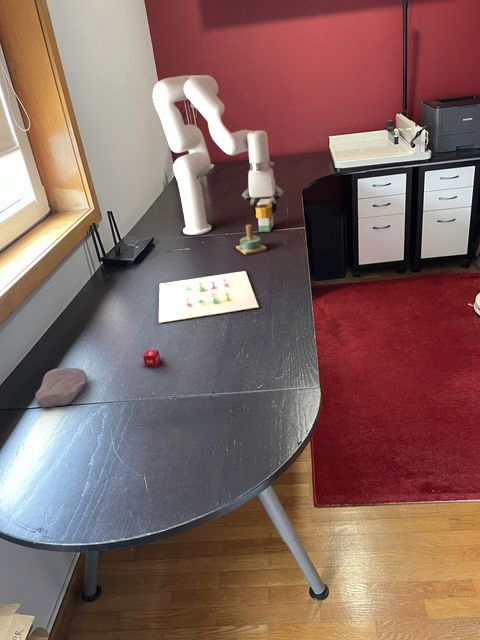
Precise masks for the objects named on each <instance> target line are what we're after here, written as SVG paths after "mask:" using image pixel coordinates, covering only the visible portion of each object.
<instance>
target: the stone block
mask: <svg viewBox="0 0 480 640" xmlns="http://www.w3.org/2000/svg"><path fill="white" fill-rule="evenodd" d="M86 385H87V374H86V371H85V370H83V369H81V368H79V367H76V368H75V367H59V368H54V369H51V370H49V371H47V372H46V373H45V375H44V376H43V378H42V382H41V386H40V388H39V389H38V390H37V391H36V392H35V399H36V403H37V405H38V406H39V407H40V408H42V409H45V408H54V407H58V406H59V407H60V406H68V405H69V404H71V403H72V402H73V401H74V399H75V398H76V397H77V396H78V395H79V394H80V393H81V392H82V391H83V389H84V388H85V387H86Z"/></svg>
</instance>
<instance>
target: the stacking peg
mask: <svg viewBox="0 0 480 640" xmlns="http://www.w3.org/2000/svg"><path fill="white" fill-rule="evenodd" d="M245 231H246V233H245V234H246V236H244V237H241V238H240V239H239V244H240V245H236V246H235V249H236V250H238V251H239V252H241V253H242V254H244V255H245V256H248V255H251V254H254V253H255V254H256V253H259V252H263V251H267V250H268V249H267V248H268V247H267V246H265V245H264V244H262V238H261V237H260V236H258V235H254V232H253V231H254V230H253V224H246V225H245Z"/></svg>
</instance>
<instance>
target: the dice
mask: <svg viewBox="0 0 480 640" xmlns="http://www.w3.org/2000/svg"><path fill="white" fill-rule="evenodd" d="M142 358H143V362H144V365H145V367H158V365H159V363H160V362H161V357H160V352H159V350H158V349H147V350H146V351H145V353H143V355H142Z"/></svg>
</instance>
